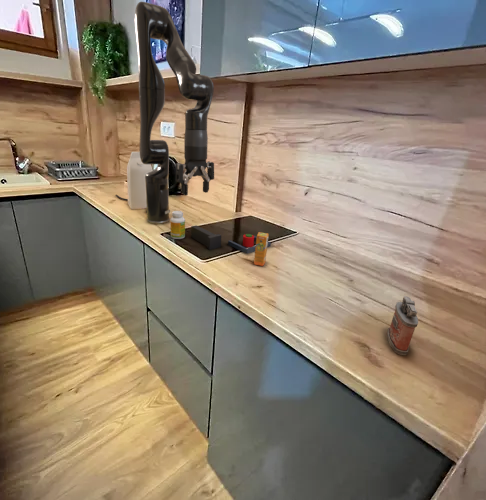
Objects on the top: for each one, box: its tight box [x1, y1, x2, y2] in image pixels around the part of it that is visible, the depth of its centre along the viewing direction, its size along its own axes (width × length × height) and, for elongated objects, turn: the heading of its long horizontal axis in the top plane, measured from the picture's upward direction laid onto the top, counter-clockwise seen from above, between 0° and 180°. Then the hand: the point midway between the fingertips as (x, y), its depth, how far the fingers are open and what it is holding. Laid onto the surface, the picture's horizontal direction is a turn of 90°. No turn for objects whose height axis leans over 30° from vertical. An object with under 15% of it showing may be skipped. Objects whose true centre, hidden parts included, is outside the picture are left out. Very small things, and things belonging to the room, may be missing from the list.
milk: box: [126, 151, 154, 210], centre depth 149 cm, size 12×12×26 cm
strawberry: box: [242, 233, 255, 248], centre depth 110 cm, size 4×4×4 cm
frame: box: [227, 234, 272, 255], centre depth 110 cm, size 10×12×2 cm
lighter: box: [386, 295, 419, 356], centre depth 62 cm, size 8×3×10 cm, turn 163°
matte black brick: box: [190, 224, 222, 251], centre depth 110 cm, size 14×5×4 cm, turn 39°
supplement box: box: [253, 231, 270, 267], centre depth 94 cm, size 3×3×10 cm
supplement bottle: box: [169, 210, 186, 240], centre depth 113 cm, size 5×5×10 cm
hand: (195, 193), depth 105 cm, fingers open, 8 cm apart
